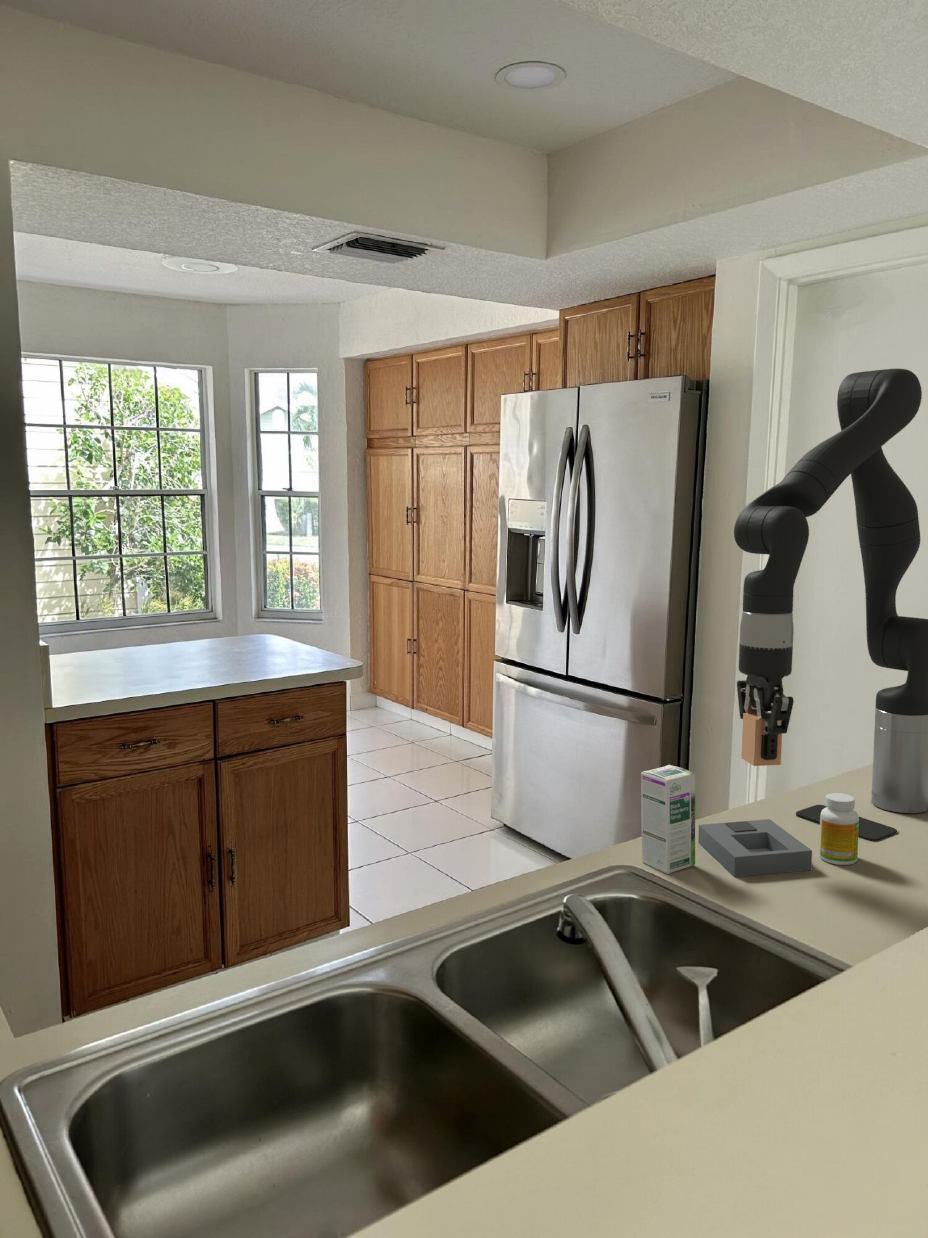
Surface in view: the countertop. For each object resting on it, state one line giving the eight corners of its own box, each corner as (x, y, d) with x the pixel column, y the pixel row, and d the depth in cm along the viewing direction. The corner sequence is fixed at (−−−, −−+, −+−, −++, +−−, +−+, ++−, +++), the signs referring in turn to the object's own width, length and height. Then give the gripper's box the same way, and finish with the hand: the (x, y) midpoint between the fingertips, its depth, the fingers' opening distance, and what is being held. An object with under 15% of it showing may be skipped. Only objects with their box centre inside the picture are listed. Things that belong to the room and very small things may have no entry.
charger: (767, 757, 139) (769, 711, 138) (780, 764, 135) (782, 718, 134) (741, 758, 139) (743, 712, 138) (753, 766, 135) (755, 719, 134)
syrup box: (667, 875, 133) (668, 779, 131) (639, 861, 138) (640, 769, 136) (695, 866, 136) (697, 772, 134) (667, 853, 141) (668, 762, 139)
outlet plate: (769, 837, 147) (769, 818, 146) (811, 870, 134) (812, 849, 134) (698, 842, 145) (698, 823, 145) (734, 876, 132) (734, 855, 132)
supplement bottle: (860, 867, 135) (863, 804, 133) (822, 865, 136) (824, 802, 134) (853, 852, 140) (855, 792, 139) (816, 850, 141) (818, 790, 140)
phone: (873, 840, 144) (792, 812, 156) (873, 845, 144) (792, 817, 156) (900, 829, 148) (819, 803, 160) (900, 834, 148) (819, 808, 160)
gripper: (814, 649, 128) (808, 767, 130) (767, 634, 142) (762, 741, 144) (764, 650, 127) (759, 769, 129) (721, 635, 141) (717, 743, 143)
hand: (761, 754), depth 137 cm, fingers closed on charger, 4 cm apart
